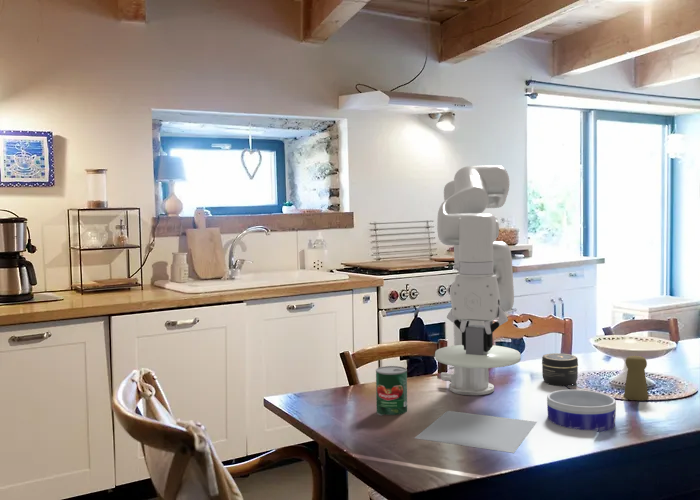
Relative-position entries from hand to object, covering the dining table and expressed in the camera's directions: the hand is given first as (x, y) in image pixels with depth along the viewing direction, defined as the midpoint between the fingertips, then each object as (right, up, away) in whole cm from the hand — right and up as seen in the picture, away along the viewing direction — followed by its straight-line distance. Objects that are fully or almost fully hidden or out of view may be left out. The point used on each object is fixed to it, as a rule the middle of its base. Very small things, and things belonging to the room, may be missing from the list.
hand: (477, 348), depth 149 cm
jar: (+32, -16, +43) cm, 56 cm away
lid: (0, -2, 0) cm, 2 cm away
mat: (0, -19, +1) cm, 19 cm away
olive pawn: (+47, -17, +26) cm, 56 cm away
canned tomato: (-18, -19, +17) cm, 31 cm away
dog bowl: (+26, -19, +7) cm, 33 cm away
